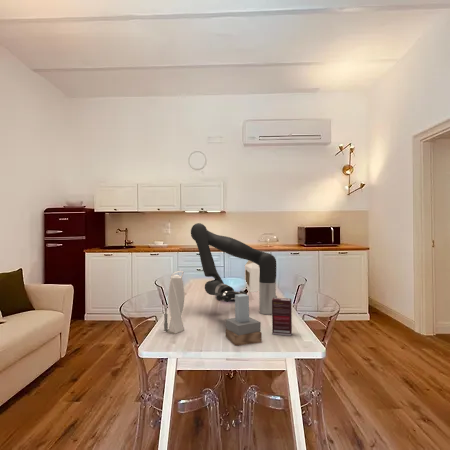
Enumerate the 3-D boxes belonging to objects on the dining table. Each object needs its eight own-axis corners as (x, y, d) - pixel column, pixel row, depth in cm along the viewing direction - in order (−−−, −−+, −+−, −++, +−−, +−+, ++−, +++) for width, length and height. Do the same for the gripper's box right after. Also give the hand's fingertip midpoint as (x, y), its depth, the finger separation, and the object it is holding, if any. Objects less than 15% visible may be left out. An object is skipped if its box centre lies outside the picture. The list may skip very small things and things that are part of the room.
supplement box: (291, 332, 155) (291, 298, 155) (291, 336, 151) (291, 300, 151) (273, 331, 158) (273, 297, 158) (271, 334, 153) (271, 299, 153)
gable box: (244, 286, 268) (244, 251, 268) (261, 286, 270) (261, 251, 270) (250, 292, 246) (250, 254, 246) (268, 292, 248) (268, 253, 248)
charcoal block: (246, 324, 154) (246, 315, 154) (260, 331, 145) (260, 322, 145) (225, 328, 149) (225, 319, 149) (238, 335, 139) (238, 325, 139)
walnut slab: (250, 334, 155) (250, 324, 154) (261, 343, 143) (261, 332, 143) (225, 337, 151) (225, 327, 151) (235, 346, 139) (235, 335, 139)
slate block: (245, 318, 150) (244, 293, 150) (249, 321, 146) (248, 295, 146) (235, 319, 148) (234, 294, 148) (239, 322, 144) (238, 296, 144)
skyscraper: (176, 327, 164) (176, 270, 164) (188, 331, 159) (188, 271, 159) (163, 331, 158) (163, 272, 158) (174, 335, 153) (174, 273, 153)
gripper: (210, 285, 167) (221, 291, 151) (237, 283, 171) (250, 289, 156) (210, 300, 167) (221, 308, 151) (237, 298, 172) (250, 305, 156)
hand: (236, 298), depth 154 cm, fingers open, 8 cm apart
